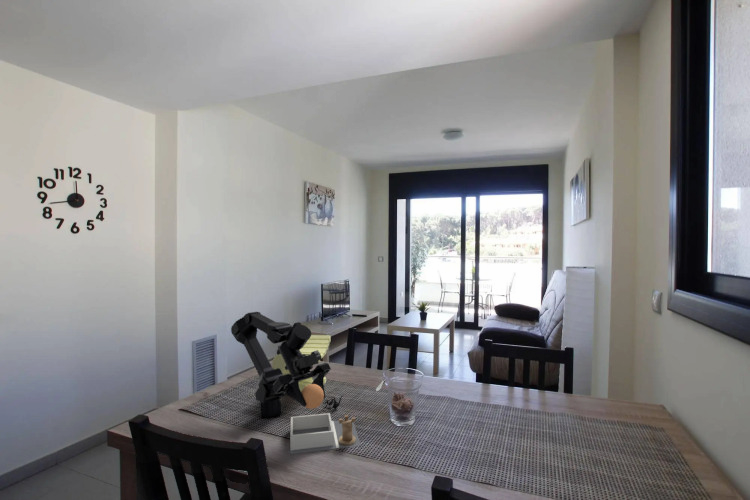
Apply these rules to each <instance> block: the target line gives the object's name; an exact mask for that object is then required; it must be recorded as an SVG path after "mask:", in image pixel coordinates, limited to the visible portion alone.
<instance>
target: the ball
mask: <svg viewBox="0 0 750 500" xmlns="http://www.w3.org/2000/svg"><path fill="white" fill-rule="evenodd" d="M301 393H302V395H303V397H304V399H305V401H306V404H307V405H306V406H305V407H304V408H306V409H311V410H314V409H317V408H318V407H320V406H321V405H322V404H323V403H324V400H325V399H324V393H323V390H322V388H321V387H320V386H318V385H316V384H309V385H307V386H306V387H304V389H303V390H302V392H301Z"/></svg>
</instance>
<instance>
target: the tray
mask: <svg viewBox="0 0 750 500" xmlns="http://www.w3.org/2000/svg"><path fill="white" fill-rule="evenodd" d="M332 421H333V420H332V416H331V412H327V413H320V414H319V413H318V414H307V415H298V416H297V415H295V416H290V431H289V434H290V437H289V439H290V441H289V442H290V444H289V447H290V448H289V451H290V450H297V449H306V448H315V447H324V446H333V445H334V431H333V426H332ZM321 427H328V428H329V431H325V432H315V433H306V434H296V435H293V430H301V429H311V428H321Z"/></svg>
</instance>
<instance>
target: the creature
mask: <svg viewBox="0 0 750 500" xmlns="http://www.w3.org/2000/svg"><path fill="white" fill-rule="evenodd" d="M342 397H343V395H341V396H340V397H339V401H338V402H337V400H336V397H335V396H333V398H329V399H328V400H327V399H326V400H325V402H323V405H325V407H323V408H322V409H321V411H323V410H326V409H327V407H328V406H331V405H332V407H331V408H330V410H332V409H335V410H336V409H338V407H339V406H340V403H341V400H342Z"/></svg>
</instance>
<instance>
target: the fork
mask: <svg viewBox="0 0 750 500" xmlns="http://www.w3.org/2000/svg"><path fill="white" fill-rule="evenodd" d="M384 382H385V380H384V381H383V380H382V381H381V383H379V385H378V386H377V387H376V389H375V391H376V392H378V391H380V390H381V388H382V386H383V385H384Z"/></svg>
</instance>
